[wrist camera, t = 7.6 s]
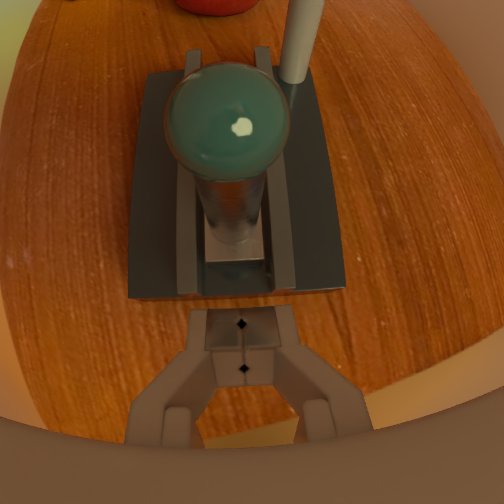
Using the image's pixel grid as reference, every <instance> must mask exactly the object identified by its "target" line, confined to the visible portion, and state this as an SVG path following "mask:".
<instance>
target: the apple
mask: <svg viewBox="0 0 504 504" xmlns="http://www.w3.org/2000/svg"><path fill="white" fill-rule="evenodd" d="M175 1H176V3H177V4H178V5H179V6H180V7H181V8H183V9H185V10H187V11H190V12H192V13H196V14H202V15H210V16H229V15H234V14H239V13H243V12H245V11H246V10H248V9H250V8H252V7H253V6H255V5H256V3H257V2H258V1H259V0H175Z"/></svg>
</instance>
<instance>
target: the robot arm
mask: <svg viewBox="0 0 504 504" xmlns="http://www.w3.org/2000/svg"><path fill="white" fill-rule="evenodd" d="M256 385H273V386H274V387H275V388H276V390H277V391H278V392H279V393H280V394H281V395H282V397H283V398H284V399H285V400H286V401H287V403H288V404H289V405H290V406H291V407H292V408H293V409H294V411H295V412H296V413H297V414H298V415H299V416H300V418H299V422H298V426H297V430H296V433H295V437H294V444H289V445H278V446H266V447H252V448H229V449H228V448H227V449H205V446H204V443H203V441H202V438H201V435H200V433H199V430H198V428H197V425H196V423H195V422H196V421H197V419H198V418H199V416H200V415H201V413H202V412H203V411H204V409H205V408H206V406H207V405H208V403H209V402H210V400H211V399H212V397H213V395H214V394H215V392H216V391H217V388H220V387H237V386H256ZM0 504H504V386H503V387H500V388H498V389H496V390H493V391H491V392H489V393H487V394H484V395H482V396H479V397H477V398H475V399H472V400H470V401H467V402H465V403H462V404H459V405H456V406H454V407H451V408H448V409H445V410H443V411H439V412H437V413H433V414H430V415H427V416H424V417H421V418H418V419H414V420H411V421H407V422H404V423H400V424H397V425H393V426H389V427H385V428H381V429H376V430H374V429H373V426H372V423H371V420H370V416H369V413H368V410H367V407H366V403H365V401H364V397H363V394H362V391H361V390H359V389H358V388H357V387H356V386H354V385H353V384H352V383H351V382H350V381H348V380H347V379H346V378H345V377H344V376H342V375H341V374H340V373H339V372H338V371H336V370H335V369H334V368H333V367H332V366H330V365H329V364H328V363H327V362H326V361H324V360H323V359H322V358H321V357H320V356H319V355H317V354H316V353H315V352H314V351H313V350H311V349H310V348H309V347H308V346H307V345H301V343H300V339H299V334H298V330H297V326H296V322H295V317H294V313H293V309H292V306H291V305H279V306H274V307H273V306H268V307H253V308H237V309H208V310H191V311H190V314H189V322H188V331H187V340H186V349H185V351H180V352H179V353H178V354H177V355H176V356H175V358H174V359H173V360H172V361H171V362H170V363H169V364H168V365H167V366H166V367H165V368H164V369H163V370H162V371H161V372H160V373H159V374H158V376H157V377H156V378H155V379H154V380H153V381H152V382H151V383H150V384H149V385H148V386H147V387H146V388H145V389H144V390H143V391H142V392H141V393H140V394H139V396H138V397H137V398H136V399H135V400H134V401H133V402H132V403H131V407H130V412H129V418H128V423H127V429H126V435H125V441H124V444H122V443H114V442H107V441H101V440H94V439H88V438H83V437H78V436H72V435H68V434H63V433H58V432H54V431H50V430H46V429H42V428H38V427H34V426H30V425H26V424H23V423H20V422H16V421H13V420H10V419H7V418H3V417H0Z"/></svg>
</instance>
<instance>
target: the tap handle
mask: <svg viewBox="0 0 504 504" xmlns="http://www.w3.org/2000/svg"><path fill="white" fill-rule="evenodd" d="M290 124H291V118H290V109H289V105H288V102H287V99H286V97H285V95H284V93H283V91H282V90H281V88H280V87H279V85H278V84H277V83H276V82H275V81H274V80H273V79H272V78H271V77H270V76H269V75H268V74H267V73H265V72H264V71H262V70H260V69H259V68H257V67H254V66H252V65H250V64H246V63H243V62H237V61H219V62H213V63H210V64H206V65H204V66H201V67H199V68H197V69H195V70H194V71H192V72H191V73H189V74H188V75H186V76H185V77H184V78H183V79H182V80H181V81H180V82H179V83H178V84H177V86H176V87H175V88H174V90H173V91H172V93H171V95H170V97H169V99H168V101H167V104H166V107H165V112H164V119H163V128H164V135H165V139H166V142H167V145H168V147H169V149H170V151H171V153H172V155H173V156H174V157H175V159H176V160H177V161H178V162H179V163H180V164H181V165H182V166H183V167H184V168H185V169H186V170H187V171H189V172H190V173H192V174H193V177H194V180H195V183H196V186H197V190H198V193H199V196H200V199H201V202H202V206H203V209H204V254H205V262H206V264H207V266H208V267H226V266H246V265H262V264H263V261H264V259H265V253H264V238H263V224H262V210H261V199H262V194H263V188H264V182H265V177H266V171H267V168H269V167H270V166H271V165H272V164H273V163H274V162H275V161H276V160H277V158H278V157H279V156H280V154H281V153H282V151H283V149H284V147H285V145H286V143H287V140H288V137H289V133H290Z"/></svg>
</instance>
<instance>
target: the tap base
mask: <svg viewBox="0 0 504 504" xmlns="http://www.w3.org/2000/svg"><path fill="white" fill-rule="evenodd" d="M325 1H326V0H289V4H288V11H287V17H286V24H285V30H284V37H283V43H282V50H281V56H280V63H279V66H272V63H271V57H270V50H269V47H265V46H255V47H254V61H253V66H254V67H257V68H259V69H260V70H262V71H264V72H265V73H267V74H268V75H269V76H270V77H271V78H272V79H273V80H274V81H275V82H276V83H277V84H278V85H279V87H280V88H281V90H282V91H283V93H284V95H285V97H286V99H287V102H288V105H289V109H290V118H291V124H290V133H289V137H288V140H287V143H286V145H285V147H284V149H283V151H282V153H281V154H280V156H279V157H278V158H277V160H276V161H275V162H274V163H273V164H272V165H271V166H270V167H269V168H267V171H266V177H265V182H264V188H263V194H262V199H261V210H262V224H263V238H264V253H265V259H264V261H263V264H262V265H246V266H226V267H208V266H207V264H206V262H205V254H204V209H203V206H202V202H201V199H200V196H199V193H198V190H197V186H196V183H195V180H194V177H193V174H192V173H190V172H189V171H187V170H186V169H185V168H184V167H183V166H182V165H181V164H180V163H179V162H178V161H177V160H176V159H175V157H174V156H173V155H172V153H171V151H170V149H169V147H168V145H167V142H166V139H165V135H164V128H163V119H164V112H165V107H166V104H167V101H168V99H169V97H170V95H171V93H172V91H173V90H174V88H175V87H176V86H177V84H178V83H179V82H180V81H181V80H182V79H183V78H184V77H185V76H186V75H188V74H189V73H191V72H192V71H194V70H195V69H197V68H199V67H201V66H203V62H202V54H201V49H195V50H187V52H186V60H185V70H175V71H167V72H159V73H152V74H147V79H146V85H145V90H144V96H143V102H142V108H141V114H140V121H139V128H138V135H137V143H136V151H135V160H134V169H133V179H132V191H131V204H130V220H129V243H128V298H129V299H134V300H138V301H143V302H154V301H191V300H217V299H239V298H258V297H275V296H290V295H305V294H318V293H331V292H334V291H337V290H340V289H343V288H346V279H345V269H344V259H343V251H342V242H341V234H340V226H339V219H338V211H337V204H336V198H335V191H334V185H333V179H332V173H331V167H330V161H329V155H328V150H327V144H326V139H325V134H324V129H323V124H322V119H321V114H320V110H319V105H318V100H317V96H316V92H315V87H314V83H313V79H312V75H311V70H310V67H308V66H309V63H310V59H311V55H312V51H313V47H314V43H315V40H316V36H317V32H318V28H319V24H320V20H321V16H322V12H323V9H324V5H325Z"/></svg>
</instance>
